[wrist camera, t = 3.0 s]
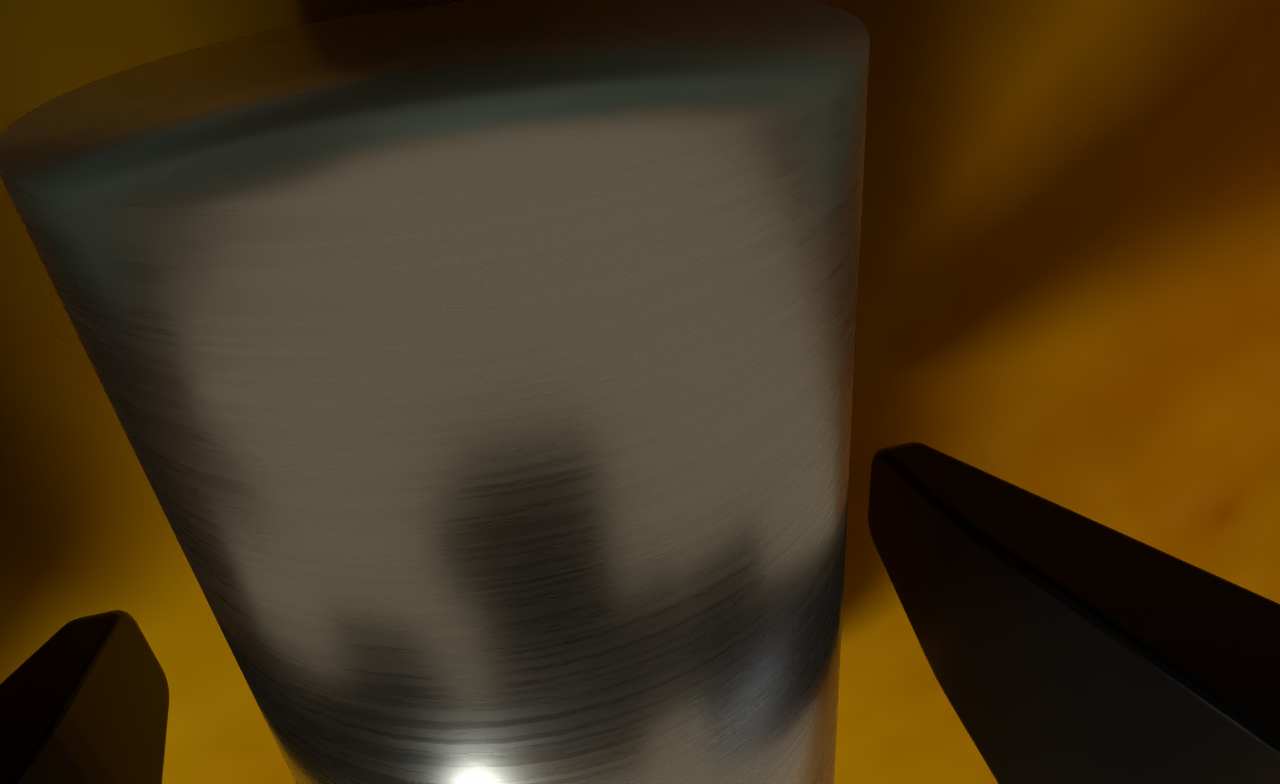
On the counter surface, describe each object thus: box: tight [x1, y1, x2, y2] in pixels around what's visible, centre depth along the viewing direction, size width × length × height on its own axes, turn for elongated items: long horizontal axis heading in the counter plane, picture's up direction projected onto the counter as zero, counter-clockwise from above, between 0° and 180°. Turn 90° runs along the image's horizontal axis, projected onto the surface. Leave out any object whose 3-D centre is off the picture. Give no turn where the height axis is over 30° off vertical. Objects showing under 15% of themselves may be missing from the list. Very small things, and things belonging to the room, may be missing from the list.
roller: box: [0, 0, 870, 784], centre depth 7 cm, size 9×4×4 cm, turn 5°
